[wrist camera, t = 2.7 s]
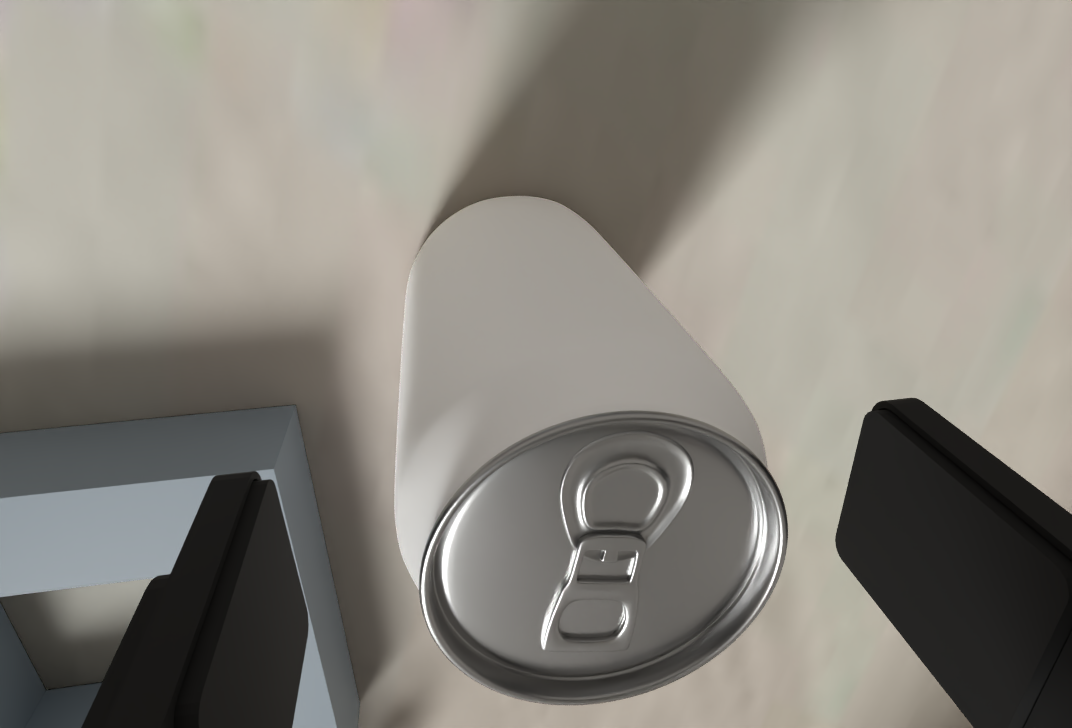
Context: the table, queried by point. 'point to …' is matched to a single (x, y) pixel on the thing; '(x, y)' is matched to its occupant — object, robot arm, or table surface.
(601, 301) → the can
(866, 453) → the robot arm
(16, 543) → the socket block
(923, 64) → the table surface
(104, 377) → the table surface
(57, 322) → the table surface
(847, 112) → the table surface
